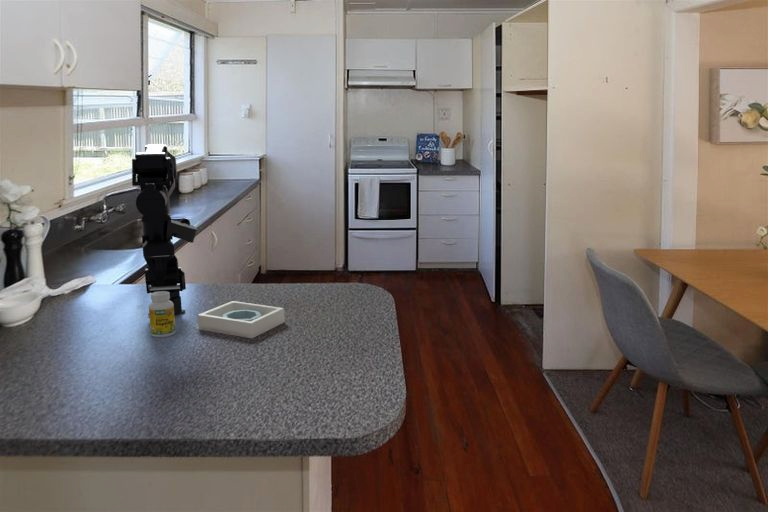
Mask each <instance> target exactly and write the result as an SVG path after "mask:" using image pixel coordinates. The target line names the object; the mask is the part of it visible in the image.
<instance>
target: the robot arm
mask: <svg viewBox="0 0 768 512" xmlns="http://www.w3.org/2000/svg"><path fill="white" fill-rule="evenodd" d="M131 159H132V160H131V182H132V184H131V185H132V187H139V188H140V189H139V193H138V195H137V197H136V200H135V207H136V209H137V211H138V212H139V213H140V216H141V226H142V227H141V228H142V233H141V241H142V242H141V243H142V257H143V259H144V261H145V262H146V264H147V268H145V269H144V278H145V279H144V280H145V288H146V294H151V293H154V292H158V291H167V292H169V293H170V299H169V300H170V301H172V302H173V304H174V316H175V317H176V316H179V315H181V314H182V315H183V313H184V314H185V313H186V309H183V307H182V296H181V293H180V292H184V290H186V289H187V286H186V275H185V274H186V273H185V272H184V271H183V269H182V266H180V265H179V261H178V258H177V256H176V253H175V245H174V243H173V242H172V240H173V239H174V238H177V239H180V240H183V241H186V242H187V243H194V241H195V239H196V235H197V231H198V228H197V227H196V226H194V225H191V221H190V219H189V218H185V217H182V218H181V219H180V220H179V221H178V220H172V216H171V212H170V211H171V209H170V207H171V206H170V197H171V195H172V193H173V191H174V190H175V188H176V181H175V180H178V167H177V159H176V157H175V156H174V155H173V154H172V153H171V152H170V151H168V145H167V144H164V143H160V144H159V143H155V144H154V143H151V144H150V143H149V144H145V145H144V152H135V155H134V157H132V158H131ZM151 302H153V301H152V300H151ZM148 317H149V313H148Z"/></svg>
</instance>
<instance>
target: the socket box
mask: <svg viewBox="0 0 768 512" xmlns="http://www.w3.org/2000/svg"><path fill="white" fill-rule="evenodd" d="M197 322H198V323H197V324H198V330H201V331H207V332H212V333H217V334H218V333H219V334H223V335H230V336H236V337H241V338H248V339H254V338H255V337H257V336H260V335H261V334H265V333H266V332H267V331H271V330H272V329H274V328H276V327H278V326H279V325H281V324H284V323H285V308H284V307H278V306H271V305H264V304H257V303H256V304H255V303H250V302H243V301H236V300H232V301H229V302H226V303H224V304H222V305H219V306H216V307H214V308H211V309H209V310H207V311H204V312H201V313H199V314H197Z"/></svg>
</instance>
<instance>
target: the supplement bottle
mask: <svg viewBox="0 0 768 512" xmlns="http://www.w3.org/2000/svg"><path fill="white" fill-rule="evenodd" d="M169 299H170V293H169V292H167V291H158V292H154V293H150V300H151V302H150V303H149V305H148V314H149V316H148V317H149V326H150V327H149V329H150V335H151V336H152V337H154V338H167V337H170V336H174V335H175V334H176V320H175V319H176V318H175V317H176V316H174V304H173V302H172V301H170V300H169ZM152 301H153V302H152Z"/></svg>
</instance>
